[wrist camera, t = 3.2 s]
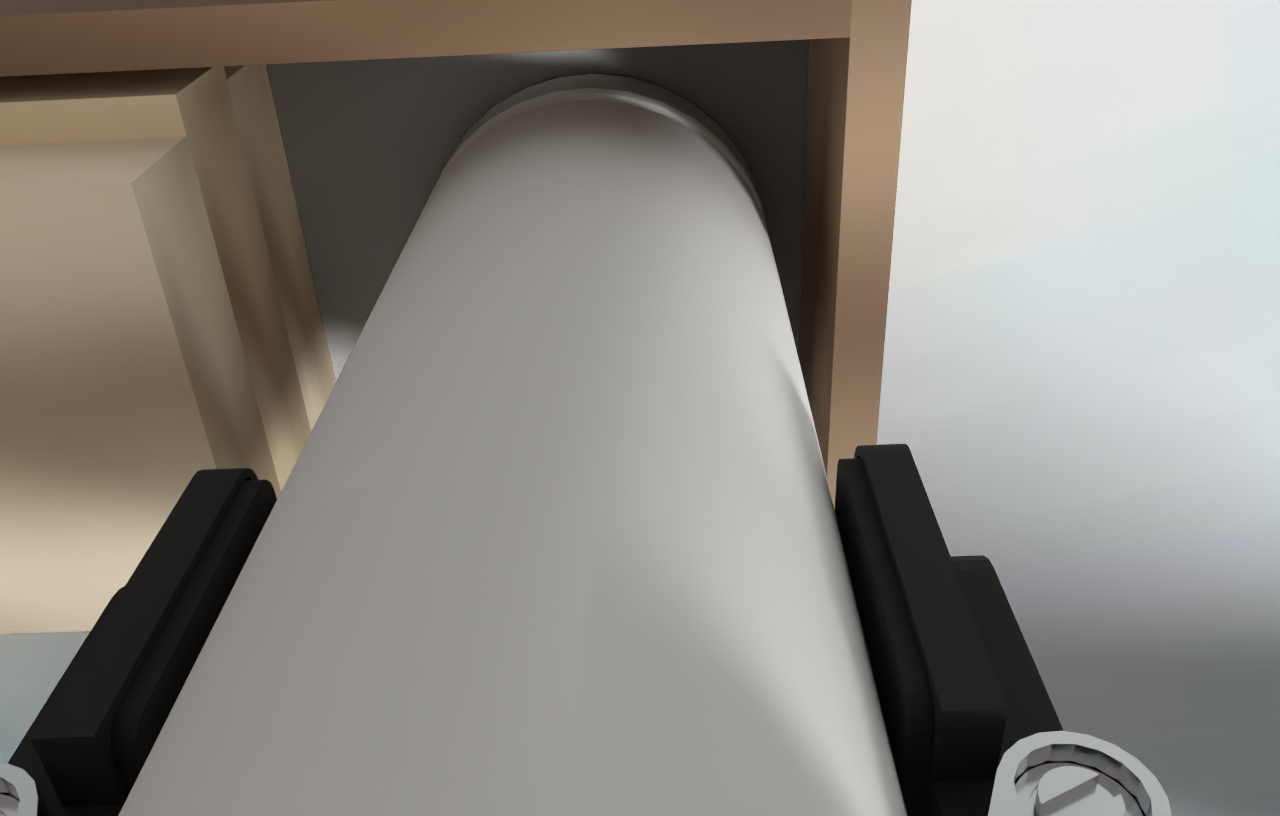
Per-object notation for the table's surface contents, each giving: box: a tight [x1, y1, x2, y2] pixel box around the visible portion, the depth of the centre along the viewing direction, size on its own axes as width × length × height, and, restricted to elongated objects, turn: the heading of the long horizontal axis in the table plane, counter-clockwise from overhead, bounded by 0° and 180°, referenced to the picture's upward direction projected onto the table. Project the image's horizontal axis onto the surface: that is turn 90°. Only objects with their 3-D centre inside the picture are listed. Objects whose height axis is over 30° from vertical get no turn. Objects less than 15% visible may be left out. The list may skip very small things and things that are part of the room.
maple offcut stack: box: [0, 64, 336, 634], centre depth 19 cm, size 8×5×6 cm, turn 3°
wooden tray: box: [0, 0, 911, 510], centre depth 19 cm, size 11×18×4 cm, turn 93°
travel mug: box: [118, 74, 907, 816], centre depth 12 cm, size 6×7×20 cm
